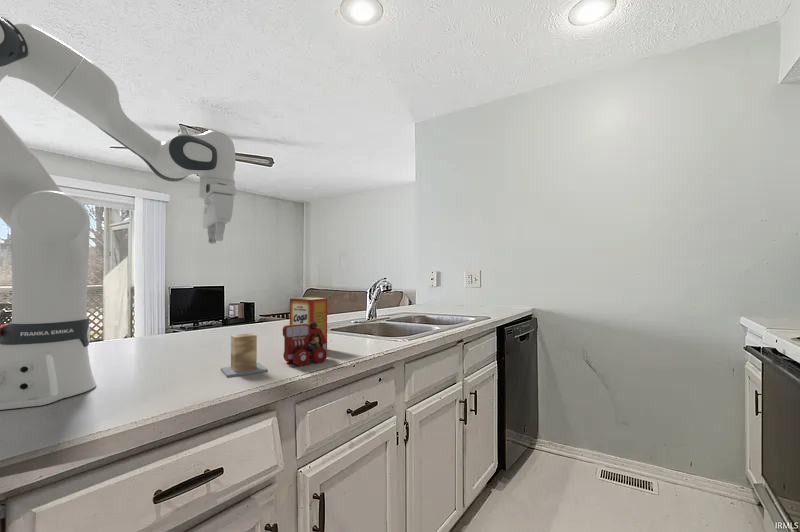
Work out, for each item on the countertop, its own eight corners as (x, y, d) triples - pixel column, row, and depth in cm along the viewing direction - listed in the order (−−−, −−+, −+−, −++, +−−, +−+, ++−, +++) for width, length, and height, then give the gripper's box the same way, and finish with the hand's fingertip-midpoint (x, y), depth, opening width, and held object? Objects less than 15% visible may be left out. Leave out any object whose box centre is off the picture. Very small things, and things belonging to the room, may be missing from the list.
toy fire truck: (333, 360, 104) (333, 322, 104) (290, 368, 95) (290, 326, 95) (319, 356, 109) (319, 319, 109) (277, 364, 100) (277, 323, 101)
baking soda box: (327, 349, 119) (327, 297, 120) (311, 352, 114) (311, 298, 114) (305, 345, 125) (305, 296, 125) (289, 349, 119) (289, 297, 119)
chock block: (234, 371, 90) (234, 337, 90) (230, 368, 94) (231, 335, 94) (256, 368, 93) (256, 335, 93) (252, 365, 96) (252, 333, 96)
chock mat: (227, 377, 87) (227, 375, 87) (220, 369, 94) (220, 367, 94) (267, 371, 93) (267, 369, 93) (258, 364, 99) (258, 362, 99)
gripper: (198, 197, 114) (196, 244, 113) (211, 183, 97) (209, 238, 97) (221, 200, 118) (219, 245, 117) (238, 187, 101) (236, 240, 100)
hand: (215, 242), depth 107 cm, fingers open, 8 cm apart
